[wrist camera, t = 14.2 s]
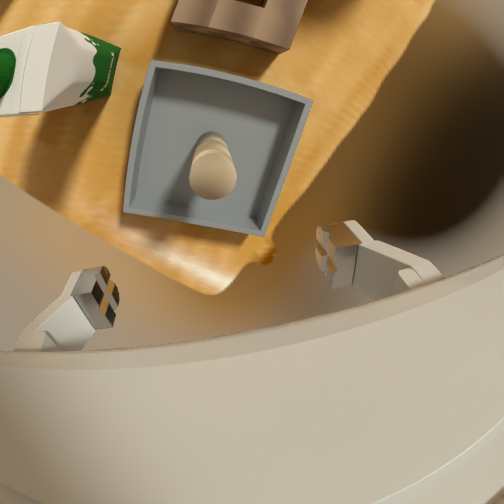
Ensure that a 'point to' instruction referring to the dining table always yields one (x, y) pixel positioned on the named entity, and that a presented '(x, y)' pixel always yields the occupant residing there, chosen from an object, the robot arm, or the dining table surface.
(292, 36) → the socket block
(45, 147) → the dining table surface
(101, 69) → the milk carton
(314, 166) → the dining table surface
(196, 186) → the dowel
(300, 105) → the tray
